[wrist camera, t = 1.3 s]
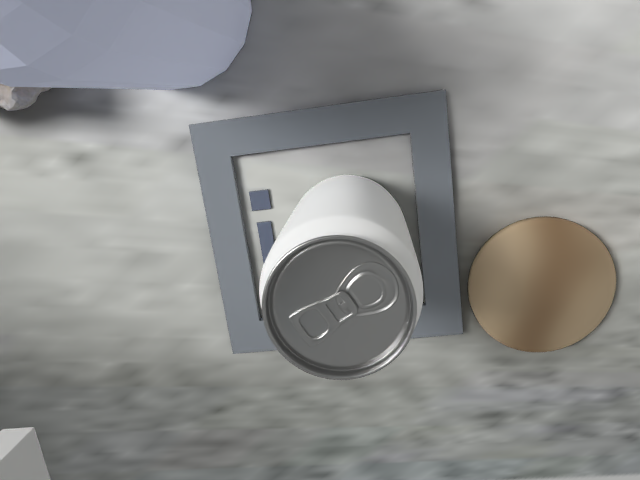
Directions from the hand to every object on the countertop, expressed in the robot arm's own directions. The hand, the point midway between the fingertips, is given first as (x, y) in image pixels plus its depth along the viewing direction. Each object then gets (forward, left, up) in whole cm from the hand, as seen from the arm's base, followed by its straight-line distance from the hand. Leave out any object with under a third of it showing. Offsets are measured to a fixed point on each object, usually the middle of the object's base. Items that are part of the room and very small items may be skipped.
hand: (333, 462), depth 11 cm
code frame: (-1, 0, -20) cm, 20 cm away
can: (0, 0, -20) cm, 20 cm away
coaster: (+10, -4, -20) cm, 23 cm away
